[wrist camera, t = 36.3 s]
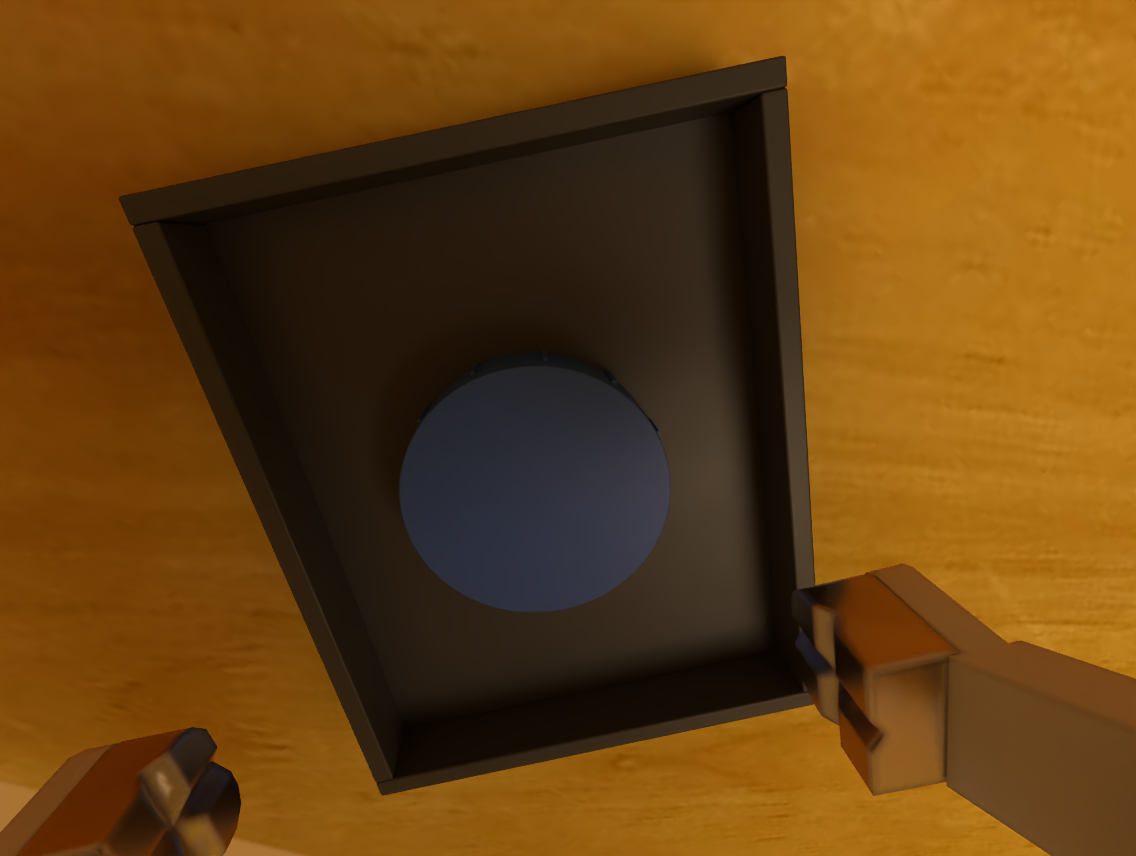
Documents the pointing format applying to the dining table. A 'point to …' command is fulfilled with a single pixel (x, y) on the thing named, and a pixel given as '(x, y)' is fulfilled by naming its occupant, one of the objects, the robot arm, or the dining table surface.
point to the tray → (499, 328)
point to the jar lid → (534, 483)
